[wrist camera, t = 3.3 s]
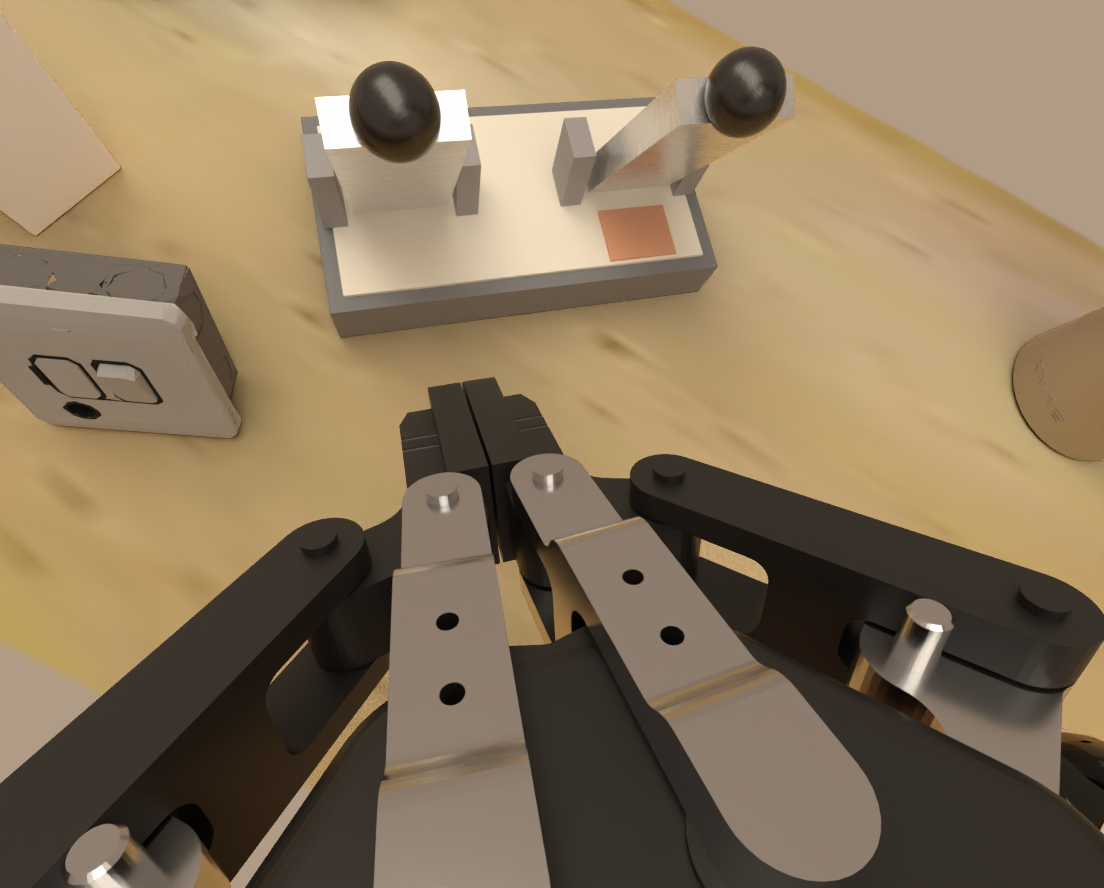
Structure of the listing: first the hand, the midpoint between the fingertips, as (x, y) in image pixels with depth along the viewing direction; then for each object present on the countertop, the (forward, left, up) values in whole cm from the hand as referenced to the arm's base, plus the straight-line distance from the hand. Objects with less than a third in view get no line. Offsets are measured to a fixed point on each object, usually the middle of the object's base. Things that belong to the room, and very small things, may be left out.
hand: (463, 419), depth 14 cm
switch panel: (-5, -18, -20) cm, 27 cm away
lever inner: (-11, -18, -16) cm, 27 cm away
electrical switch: (+15, -9, -20) cm, 26 cm away
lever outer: (+1, -17, -16) cm, 24 cm away
